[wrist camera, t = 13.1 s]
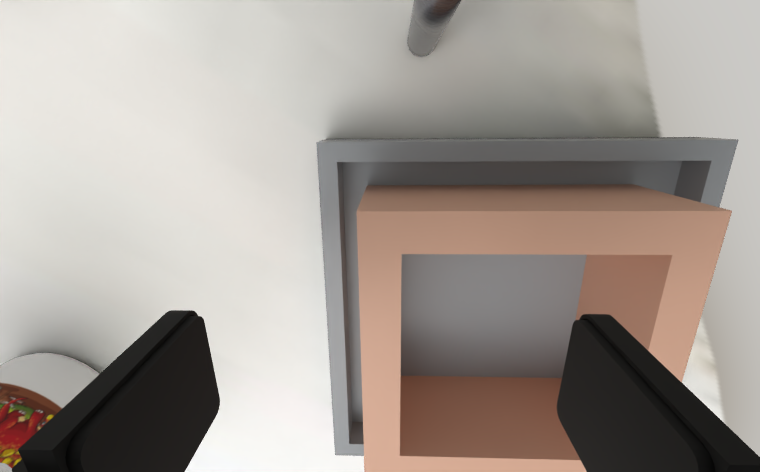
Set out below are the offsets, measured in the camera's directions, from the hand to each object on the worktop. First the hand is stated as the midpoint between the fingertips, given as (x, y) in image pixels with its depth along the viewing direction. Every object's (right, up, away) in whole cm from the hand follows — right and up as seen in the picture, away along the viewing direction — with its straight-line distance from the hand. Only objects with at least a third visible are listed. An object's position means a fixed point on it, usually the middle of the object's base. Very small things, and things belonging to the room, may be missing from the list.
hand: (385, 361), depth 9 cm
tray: (+6, 0, +10) cm, 11 cm away
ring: (+5, 0, +9) cm, 11 cm away
